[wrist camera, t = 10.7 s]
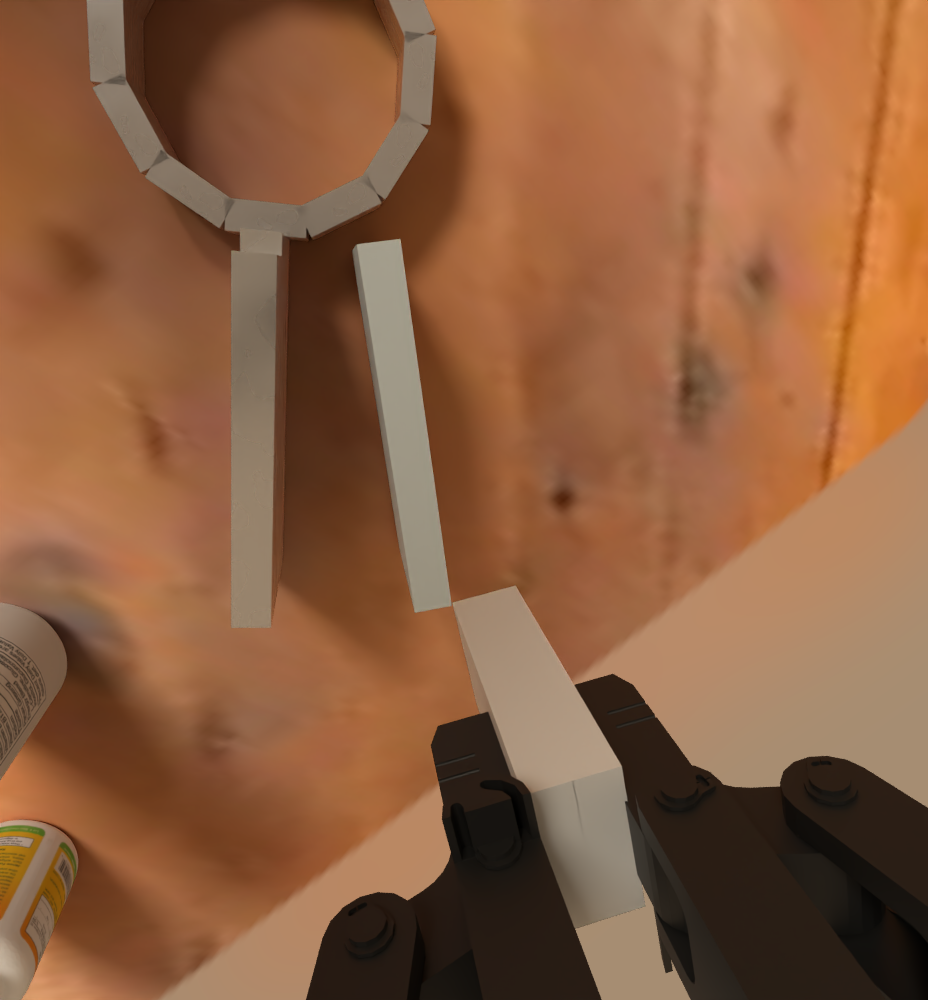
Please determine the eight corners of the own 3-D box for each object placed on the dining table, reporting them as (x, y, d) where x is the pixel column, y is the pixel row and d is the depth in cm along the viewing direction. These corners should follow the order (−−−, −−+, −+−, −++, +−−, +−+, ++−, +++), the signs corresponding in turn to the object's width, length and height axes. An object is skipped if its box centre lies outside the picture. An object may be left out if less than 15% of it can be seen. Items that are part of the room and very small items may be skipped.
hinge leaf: (399, 547, 37) (414, 612, 30) (351, 250, 32) (356, 244, 25) (428, 542, 37) (451, 605, 30) (385, 246, 33) (400, 239, 26)
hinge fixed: (131, 555, 35) (80, 626, 28) (104, -132, 28) (25, -273, 20) (394, 561, 37) (408, 628, 30) (435, -73, 30) (467, -181, 23)
